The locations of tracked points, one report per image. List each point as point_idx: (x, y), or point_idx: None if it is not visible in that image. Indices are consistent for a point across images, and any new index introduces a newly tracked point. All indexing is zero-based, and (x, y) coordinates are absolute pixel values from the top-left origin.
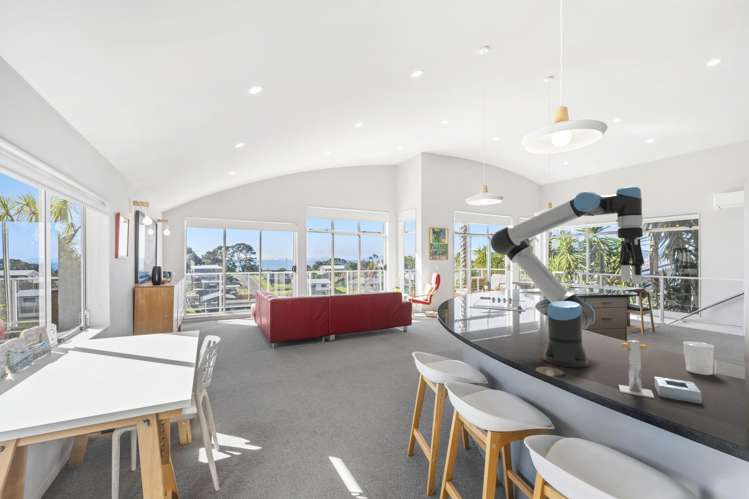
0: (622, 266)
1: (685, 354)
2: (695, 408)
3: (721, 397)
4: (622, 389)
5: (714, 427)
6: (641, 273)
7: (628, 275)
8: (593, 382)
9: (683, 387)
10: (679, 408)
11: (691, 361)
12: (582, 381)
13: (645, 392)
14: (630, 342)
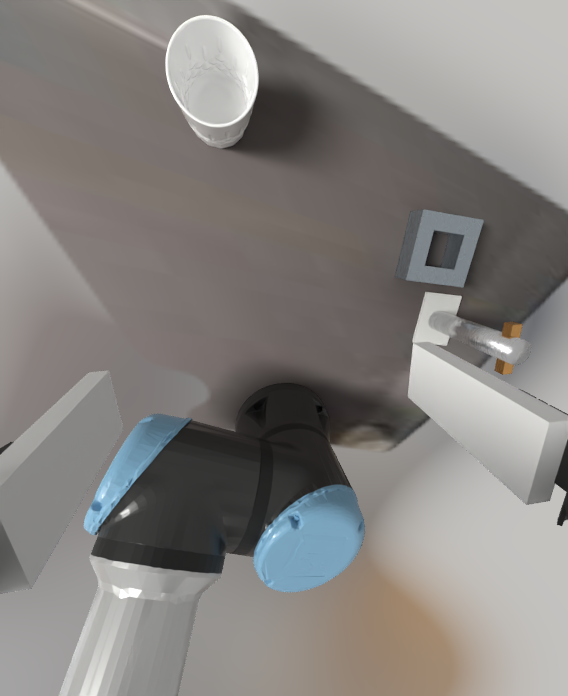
0: (41, 563)
1: (222, 138)
2: (490, 241)
3: (420, 161)
4: (438, 340)
5: (556, 243)
6: (494, 380)
7: (83, 416)
8: (405, 380)
9: (462, 244)
10: (495, 268)
11: (240, 133)
12: (406, 397)
13: (443, 305)
14: (522, 360)
